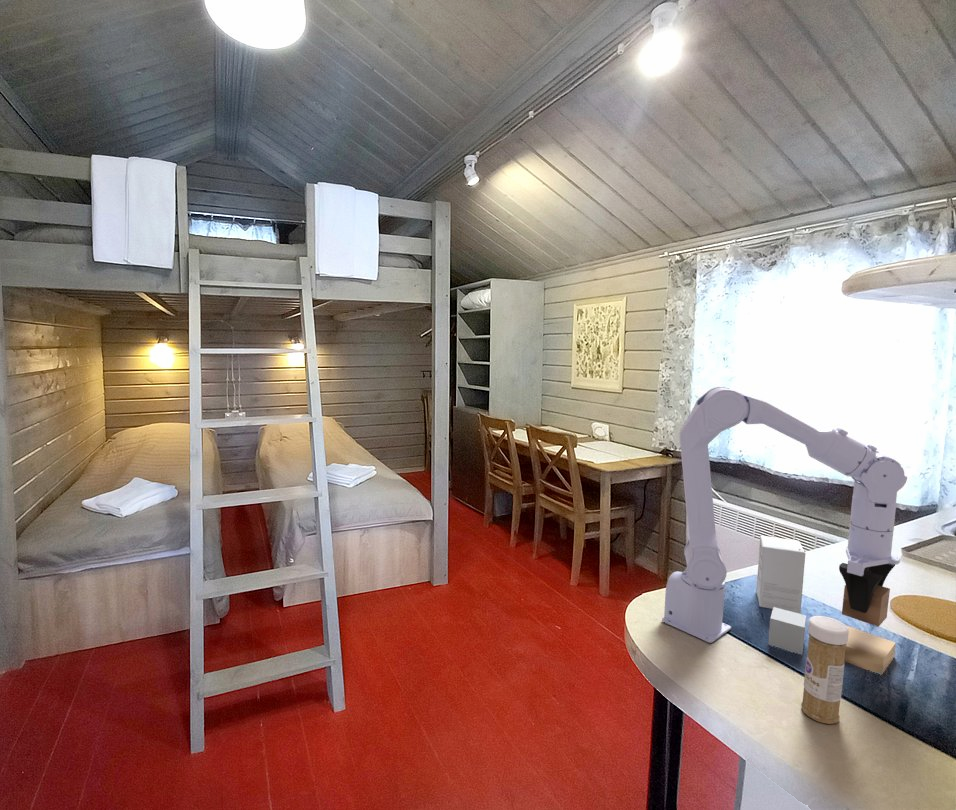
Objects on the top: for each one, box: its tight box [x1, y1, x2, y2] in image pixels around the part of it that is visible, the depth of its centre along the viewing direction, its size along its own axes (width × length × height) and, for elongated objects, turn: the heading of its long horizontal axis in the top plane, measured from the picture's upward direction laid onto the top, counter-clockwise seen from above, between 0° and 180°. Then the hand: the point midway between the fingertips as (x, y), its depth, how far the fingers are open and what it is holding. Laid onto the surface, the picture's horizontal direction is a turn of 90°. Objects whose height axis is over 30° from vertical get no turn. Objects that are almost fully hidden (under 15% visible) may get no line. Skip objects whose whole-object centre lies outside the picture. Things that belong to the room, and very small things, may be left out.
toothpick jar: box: [800, 615, 849, 725], centre depth 71 cm, size 5×5×13 cm
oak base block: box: [844, 624, 897, 675], centre depth 87 cm, size 8×8×3 cm
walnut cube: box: [841, 584, 891, 627], centre depth 86 cm, size 5×5×5 cm
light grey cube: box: [767, 607, 807, 656], centre depth 90 cm, size 5×5×5 cm
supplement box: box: [755, 535, 806, 614], centre depth 104 cm, size 7×7×13 cm
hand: (863, 605), depth 86 cm, fingers closed on walnut cube, 5 cm apart
